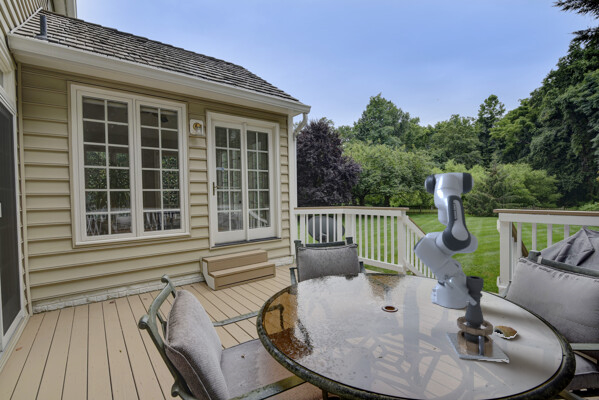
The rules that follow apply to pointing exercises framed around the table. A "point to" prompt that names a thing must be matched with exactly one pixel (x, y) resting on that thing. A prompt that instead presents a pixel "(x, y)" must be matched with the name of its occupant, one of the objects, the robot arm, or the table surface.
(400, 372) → the table surface
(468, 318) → the candle holder
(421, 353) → the table surface
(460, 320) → the collar stand
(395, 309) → the table surface
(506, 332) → the pastry
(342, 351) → the table surface
